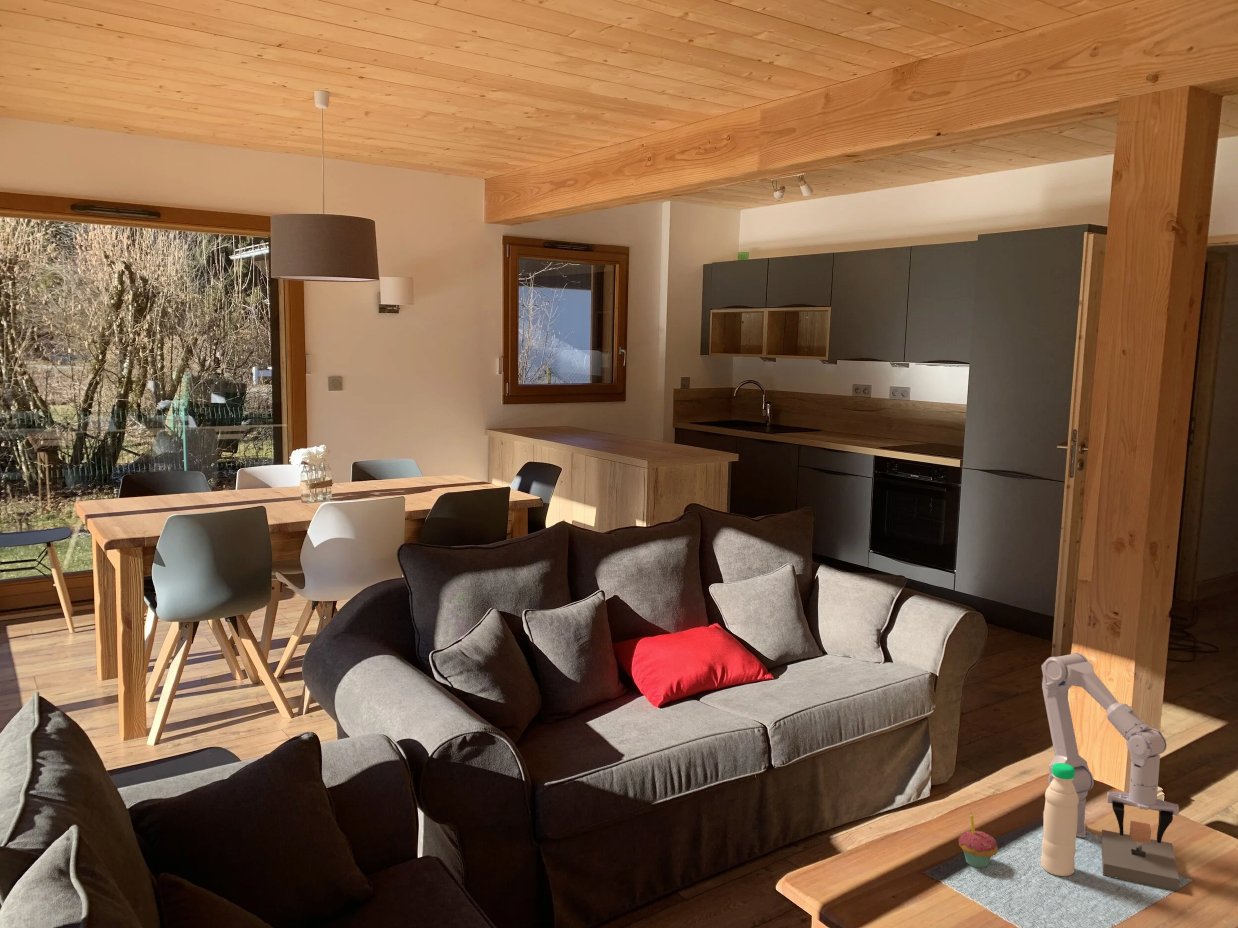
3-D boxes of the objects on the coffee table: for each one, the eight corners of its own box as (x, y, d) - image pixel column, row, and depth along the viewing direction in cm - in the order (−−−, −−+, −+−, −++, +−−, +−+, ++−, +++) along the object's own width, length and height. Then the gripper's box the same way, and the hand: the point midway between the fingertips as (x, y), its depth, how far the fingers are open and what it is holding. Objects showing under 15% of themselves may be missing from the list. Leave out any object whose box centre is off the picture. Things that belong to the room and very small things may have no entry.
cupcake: (955, 865, 222) (957, 816, 221) (960, 849, 230) (963, 801, 229) (994, 875, 218) (997, 825, 217) (998, 858, 226) (1001, 810, 225)
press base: (1102, 874, 219) (1103, 863, 219) (1101, 840, 235) (1102, 829, 235) (1178, 891, 213) (1179, 879, 212) (1171, 854, 229) (1172, 843, 229)
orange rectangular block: (1129, 852, 223) (1131, 827, 222) (1128, 845, 226) (1130, 820, 226) (1149, 856, 221) (1151, 831, 220) (1148, 849, 225) (1149, 823, 224)
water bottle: (1077, 879, 217) (1084, 773, 215) (1044, 875, 219) (1050, 770, 216) (1069, 863, 224) (1076, 760, 222) (1037, 859, 226) (1043, 758, 223)
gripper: (1109, 781, 221) (1105, 837, 223) (1181, 794, 215) (1177, 851, 217) (1108, 770, 228) (1104, 824, 229) (1178, 782, 221) (1174, 838, 223)
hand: (1139, 837), depth 223 cm, fingers open, 7 cm apart
